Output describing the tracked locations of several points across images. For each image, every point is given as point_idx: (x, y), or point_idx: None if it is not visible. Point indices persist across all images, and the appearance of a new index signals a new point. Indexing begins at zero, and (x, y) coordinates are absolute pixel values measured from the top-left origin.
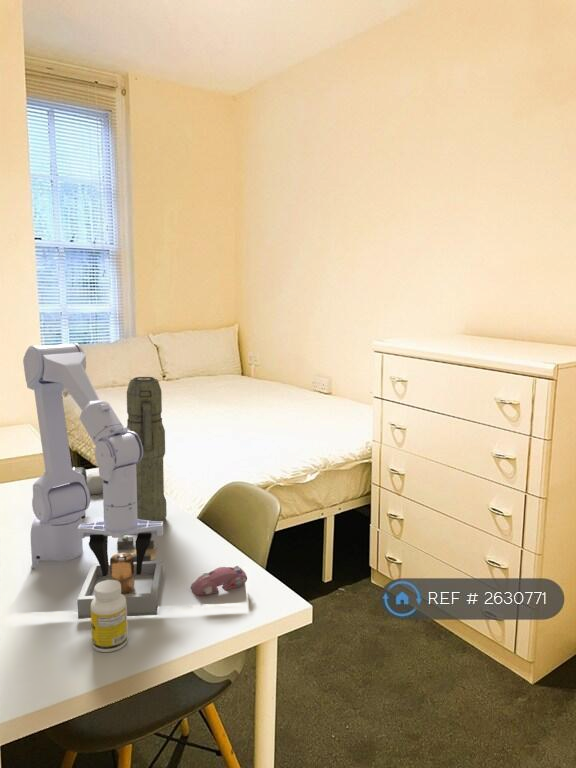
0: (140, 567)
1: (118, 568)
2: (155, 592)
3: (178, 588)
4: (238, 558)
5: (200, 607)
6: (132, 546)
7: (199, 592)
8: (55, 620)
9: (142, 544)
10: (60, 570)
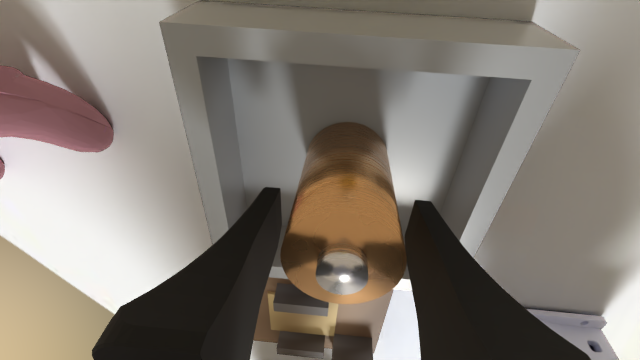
0: (249, 207)
1: (358, 202)
2: (174, 59)
3: (171, 167)
4: (61, 270)
5: (41, 32)
6: (333, 344)
7: (7, 68)
8: (632, 22)
9: (151, 322)
10: (525, 298)
